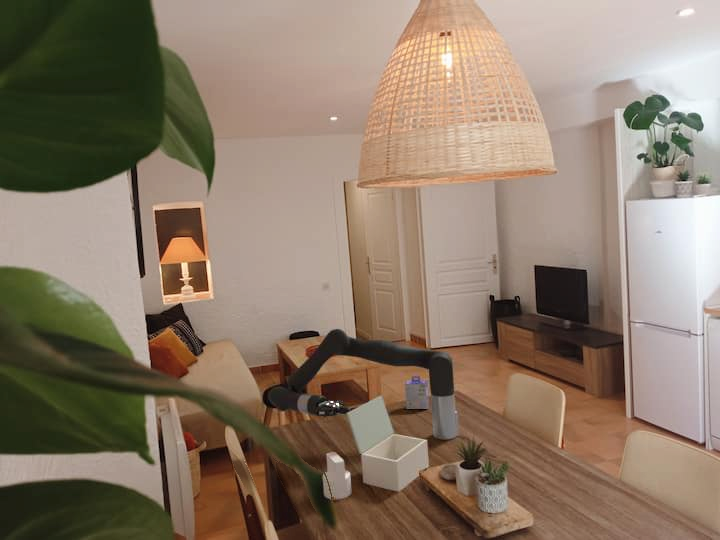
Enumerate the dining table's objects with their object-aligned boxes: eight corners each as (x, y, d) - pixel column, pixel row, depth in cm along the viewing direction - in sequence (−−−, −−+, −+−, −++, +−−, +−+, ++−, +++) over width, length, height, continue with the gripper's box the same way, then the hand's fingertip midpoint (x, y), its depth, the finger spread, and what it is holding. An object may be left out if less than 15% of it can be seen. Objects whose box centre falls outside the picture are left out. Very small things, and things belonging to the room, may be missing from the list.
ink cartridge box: (429, 406, 270) (427, 375, 269) (428, 410, 265) (426, 378, 264) (407, 406, 272) (405, 375, 271) (406, 410, 267) (404, 379, 266)
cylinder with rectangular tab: (320, 490, 194) (317, 455, 193) (345, 484, 197) (342, 449, 196) (329, 502, 185) (326, 465, 184) (355, 494, 189) (353, 458, 188)
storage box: (363, 483, 197) (361, 454, 196) (394, 460, 213) (393, 433, 212) (398, 491, 189) (396, 461, 188) (428, 467, 205) (427, 440, 204)
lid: (361, 453, 196) (359, 453, 196) (394, 432, 212) (392, 433, 213) (347, 413, 197) (345, 413, 197) (381, 395, 214) (379, 395, 214)
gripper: (300, 400, 214) (337, 406, 204) (323, 390, 225) (359, 395, 215) (301, 420, 215) (339, 427, 205) (324, 409, 225) (361, 415, 215)
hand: (349, 411), depth 210 cm, fingers closed
